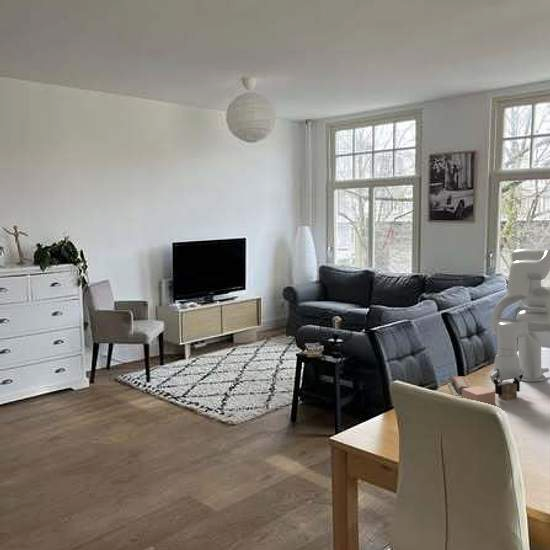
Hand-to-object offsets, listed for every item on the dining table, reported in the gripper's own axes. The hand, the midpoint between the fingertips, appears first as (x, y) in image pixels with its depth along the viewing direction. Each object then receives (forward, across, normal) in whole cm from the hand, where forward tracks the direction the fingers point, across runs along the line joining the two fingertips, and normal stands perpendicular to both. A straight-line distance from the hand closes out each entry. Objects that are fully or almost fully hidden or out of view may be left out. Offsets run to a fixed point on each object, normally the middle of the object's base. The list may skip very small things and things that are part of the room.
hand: (507, 392), depth 228 cm
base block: (+2, +14, -1) cm, 14 cm away
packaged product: (+3, +10, -16) cm, 19 cm away
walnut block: (+2, 0, 0) cm, 2 cm away
